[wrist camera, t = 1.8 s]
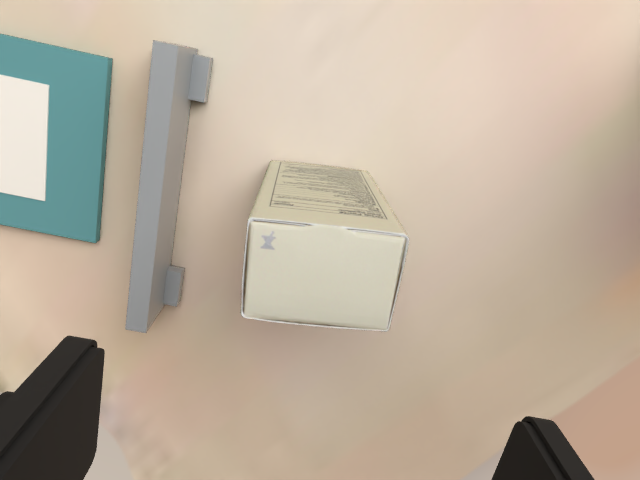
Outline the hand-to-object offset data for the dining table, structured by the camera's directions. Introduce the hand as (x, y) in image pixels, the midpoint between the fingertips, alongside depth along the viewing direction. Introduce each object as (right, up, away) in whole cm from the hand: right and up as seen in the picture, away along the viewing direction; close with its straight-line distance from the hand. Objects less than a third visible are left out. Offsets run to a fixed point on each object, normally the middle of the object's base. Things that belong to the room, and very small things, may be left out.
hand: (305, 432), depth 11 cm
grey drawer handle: (-9, +8, +19) cm, 22 cm away
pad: (-18, +10, +18) cm, 27 cm away
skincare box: (0, +7, +19) cm, 21 cm away
